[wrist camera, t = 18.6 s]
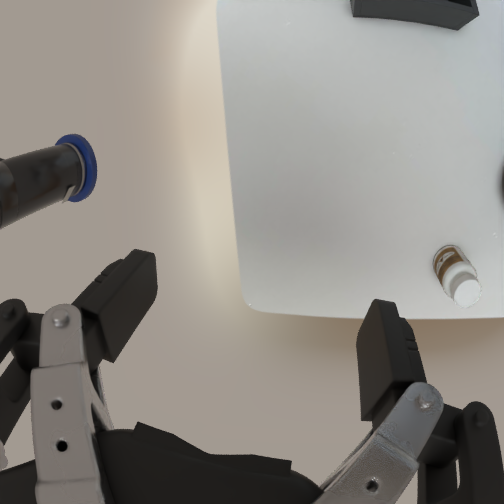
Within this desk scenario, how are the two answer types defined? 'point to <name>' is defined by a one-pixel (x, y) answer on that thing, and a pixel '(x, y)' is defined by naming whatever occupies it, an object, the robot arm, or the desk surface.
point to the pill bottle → (457, 276)
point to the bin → (419, 11)
